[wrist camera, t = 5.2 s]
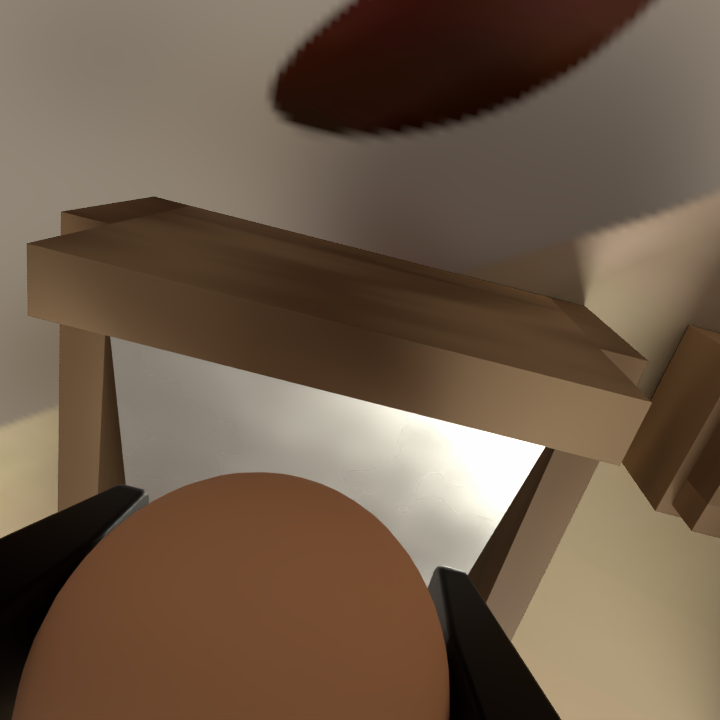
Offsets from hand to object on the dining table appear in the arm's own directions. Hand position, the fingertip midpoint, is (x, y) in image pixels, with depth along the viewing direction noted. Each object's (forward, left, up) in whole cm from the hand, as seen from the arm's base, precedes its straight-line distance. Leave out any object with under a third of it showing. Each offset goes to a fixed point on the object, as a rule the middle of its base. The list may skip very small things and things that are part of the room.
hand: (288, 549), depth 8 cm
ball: (0, 0, +2) cm, 2 cm away
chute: (0, +4, -7) cm, 8 cm away
